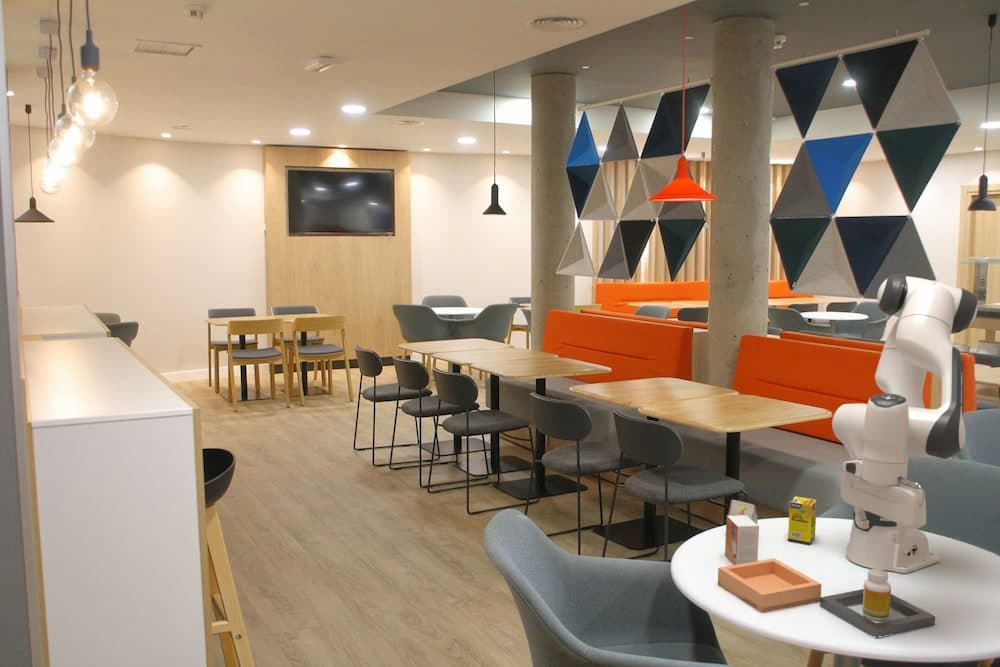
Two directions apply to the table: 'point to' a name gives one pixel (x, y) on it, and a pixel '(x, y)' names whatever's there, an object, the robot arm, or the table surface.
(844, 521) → the table surface
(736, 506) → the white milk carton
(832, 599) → the dark grey square frame
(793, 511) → the supplement box
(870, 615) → the supplement bottle
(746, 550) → the small box
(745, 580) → the tray
